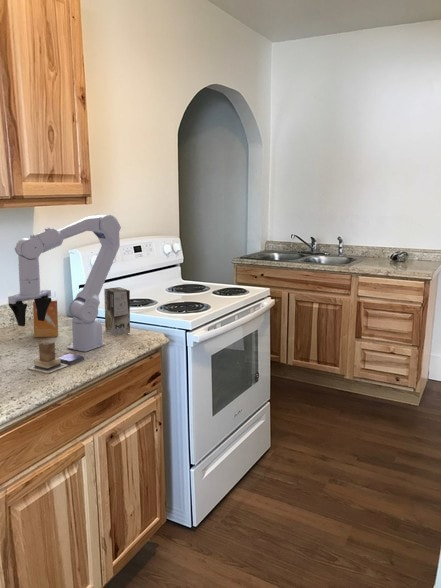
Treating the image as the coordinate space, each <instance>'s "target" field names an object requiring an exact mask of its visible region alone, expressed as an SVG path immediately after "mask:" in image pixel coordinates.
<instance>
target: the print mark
mask: <svg viewBox="0 0 441 588" xmlns="http://www.w3.org/2000/svg"><path fill="white" fill-rule="evenodd" d="M69 366H70V365H67V364H63V363H61V365H60V366H58V367H55V368H52V369H50V370H44V369H40V368H35V365H32V366H29V367H27V370H29V371H34V372H38V373H42V374H46V375H49V374H52V373H54V372H58V371H60V370H63V369H65V368H67V367H69Z"/></svg>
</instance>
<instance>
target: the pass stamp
mask: <svg viewBox="0 0 441 588" xmlns="http://www.w3.org/2000/svg"><path fill="white" fill-rule="evenodd" d="M55 344H56V343H55V341H49V340H45V341H42V342H39V343H38V351H39V352H38V353H39V355H38V356H39V358H38V359H35V360H34V361H33V362H34V363H33V364H34V366H35V368H40V369H44V370H50V369H52V368H55V367H58V366H60V365H61V360H60V359H59V358H58V357H56V345H55Z"/></svg>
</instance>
